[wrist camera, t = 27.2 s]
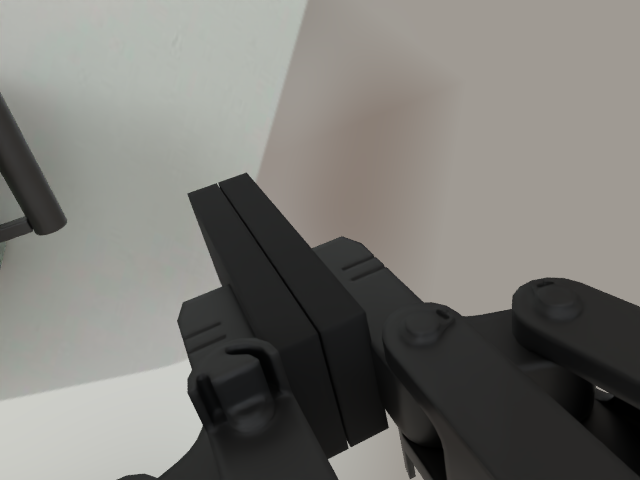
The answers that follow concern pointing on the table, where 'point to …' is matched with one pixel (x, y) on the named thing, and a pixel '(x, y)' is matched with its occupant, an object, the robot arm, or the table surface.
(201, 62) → the table surface
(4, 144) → the drawer
